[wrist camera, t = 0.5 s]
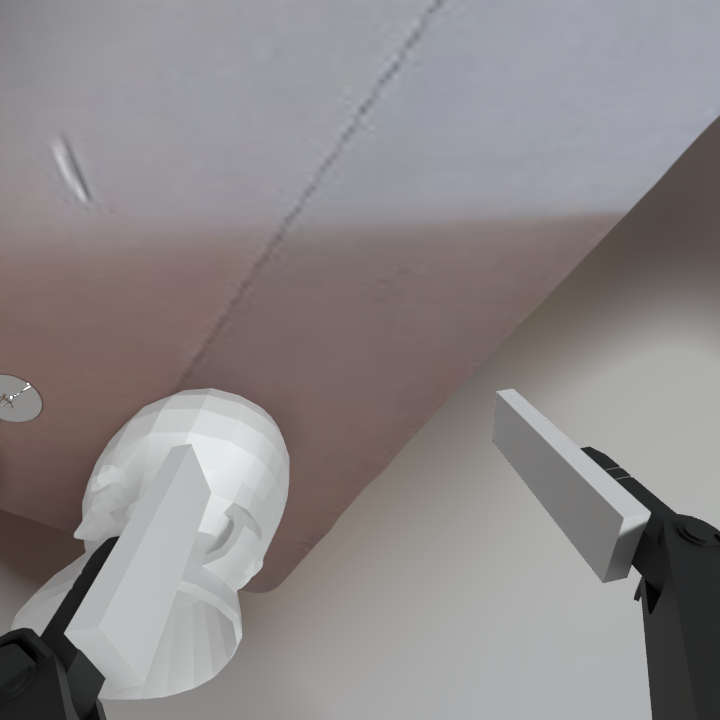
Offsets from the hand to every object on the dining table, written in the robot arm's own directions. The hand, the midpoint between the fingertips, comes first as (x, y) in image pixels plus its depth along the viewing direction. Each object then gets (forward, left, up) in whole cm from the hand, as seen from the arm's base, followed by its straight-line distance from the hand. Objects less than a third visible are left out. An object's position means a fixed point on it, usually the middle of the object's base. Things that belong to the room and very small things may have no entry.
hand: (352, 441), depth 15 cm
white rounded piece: (+16, -16, -27) cm, 35 cm away
